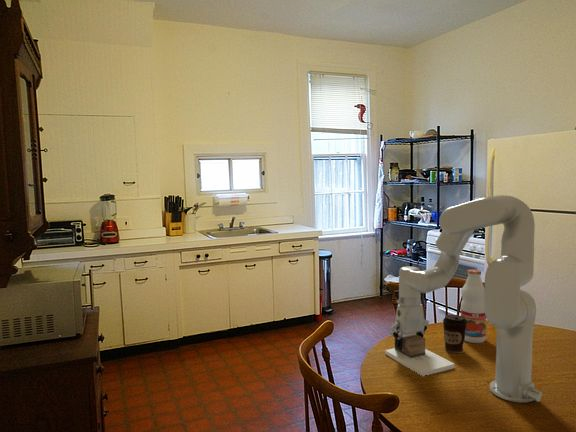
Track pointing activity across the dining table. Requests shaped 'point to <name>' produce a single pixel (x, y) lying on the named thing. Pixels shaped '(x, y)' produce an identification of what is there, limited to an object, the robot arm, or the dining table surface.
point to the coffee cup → (454, 333)
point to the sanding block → (412, 345)
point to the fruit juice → (474, 307)
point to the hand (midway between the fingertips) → (409, 346)
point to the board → (422, 362)
